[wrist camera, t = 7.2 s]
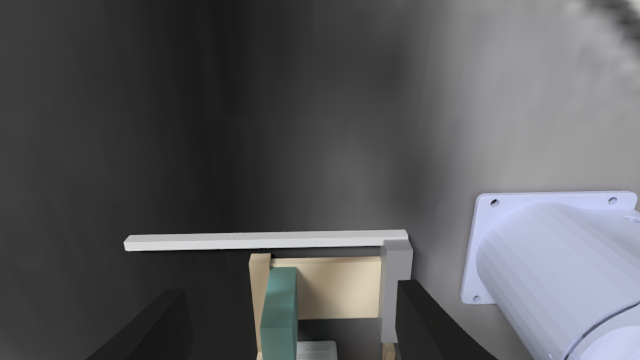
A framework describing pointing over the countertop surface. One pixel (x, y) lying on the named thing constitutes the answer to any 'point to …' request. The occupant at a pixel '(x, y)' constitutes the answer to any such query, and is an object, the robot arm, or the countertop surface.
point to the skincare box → (316, 350)
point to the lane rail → (391, 242)
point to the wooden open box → (310, 297)
